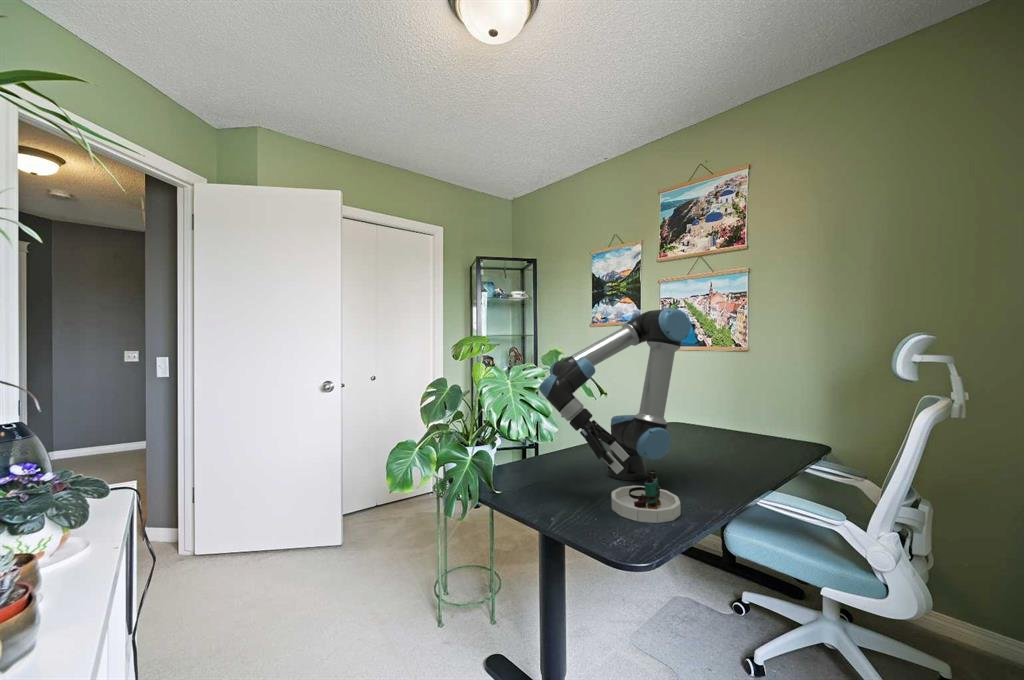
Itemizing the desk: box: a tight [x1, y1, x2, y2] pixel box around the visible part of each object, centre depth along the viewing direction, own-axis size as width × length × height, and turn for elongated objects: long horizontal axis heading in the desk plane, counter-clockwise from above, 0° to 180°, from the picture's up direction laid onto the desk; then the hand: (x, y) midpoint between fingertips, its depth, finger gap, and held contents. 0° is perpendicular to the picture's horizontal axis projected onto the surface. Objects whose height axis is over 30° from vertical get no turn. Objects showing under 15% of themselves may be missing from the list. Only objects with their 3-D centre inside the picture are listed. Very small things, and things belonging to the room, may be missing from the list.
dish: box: [611, 485, 682, 524], centre depth 131 cm, size 20×20×4 cm
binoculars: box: [629, 469, 662, 509], centre depth 131 cm, size 9×11×10 cm
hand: (623, 464), depth 133 cm, fingers open, 13 cm apart
